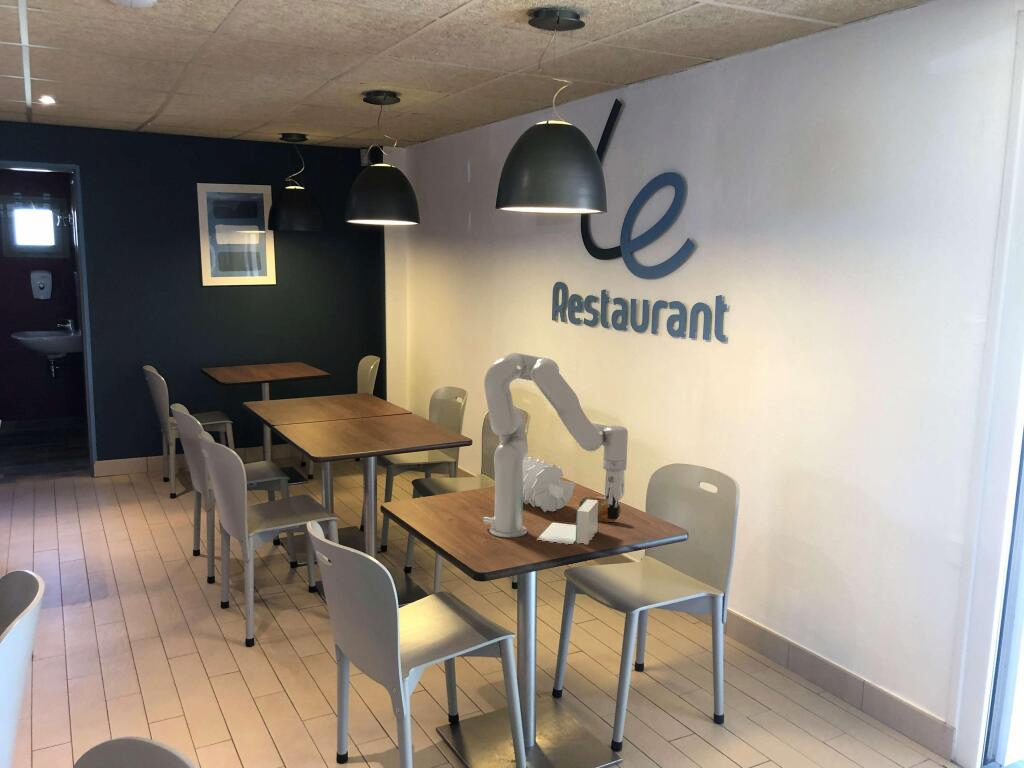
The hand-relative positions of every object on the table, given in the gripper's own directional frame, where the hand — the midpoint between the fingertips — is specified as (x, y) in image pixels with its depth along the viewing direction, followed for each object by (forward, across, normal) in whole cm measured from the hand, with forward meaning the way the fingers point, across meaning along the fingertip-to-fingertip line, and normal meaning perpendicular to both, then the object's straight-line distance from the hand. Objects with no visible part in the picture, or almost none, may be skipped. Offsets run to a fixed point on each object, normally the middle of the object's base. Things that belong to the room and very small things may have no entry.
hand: (612, 518), depth 266 cm
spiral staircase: (+8, +28, +34) cm, 45 cm away
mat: (+8, 0, +17) cm, 19 cm away
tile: (+8, 0, +8) cm, 11 cm away
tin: (+8, +20, +8) cm, 23 cm away
